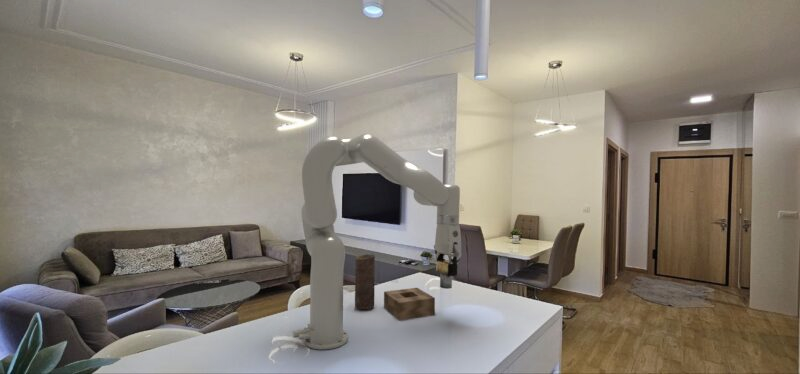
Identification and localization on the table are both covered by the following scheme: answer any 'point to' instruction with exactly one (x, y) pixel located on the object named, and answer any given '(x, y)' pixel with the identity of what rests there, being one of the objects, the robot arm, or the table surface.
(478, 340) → the table surface
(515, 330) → the table surface
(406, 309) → the block
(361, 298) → the brown wooden cylinder
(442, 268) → the pin
